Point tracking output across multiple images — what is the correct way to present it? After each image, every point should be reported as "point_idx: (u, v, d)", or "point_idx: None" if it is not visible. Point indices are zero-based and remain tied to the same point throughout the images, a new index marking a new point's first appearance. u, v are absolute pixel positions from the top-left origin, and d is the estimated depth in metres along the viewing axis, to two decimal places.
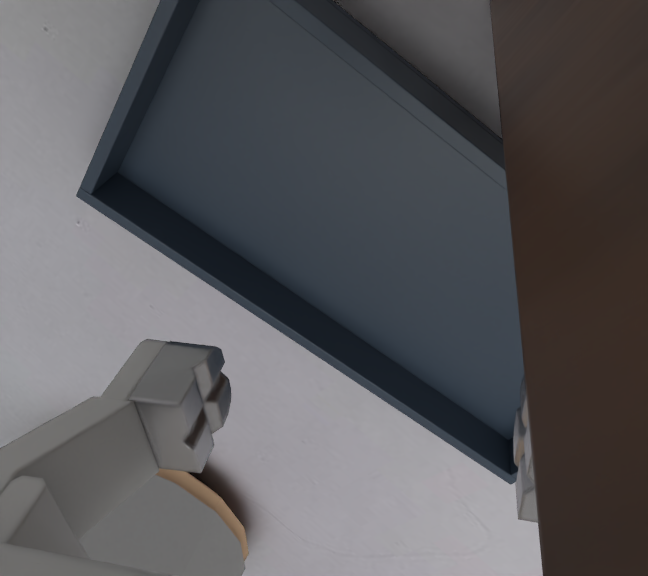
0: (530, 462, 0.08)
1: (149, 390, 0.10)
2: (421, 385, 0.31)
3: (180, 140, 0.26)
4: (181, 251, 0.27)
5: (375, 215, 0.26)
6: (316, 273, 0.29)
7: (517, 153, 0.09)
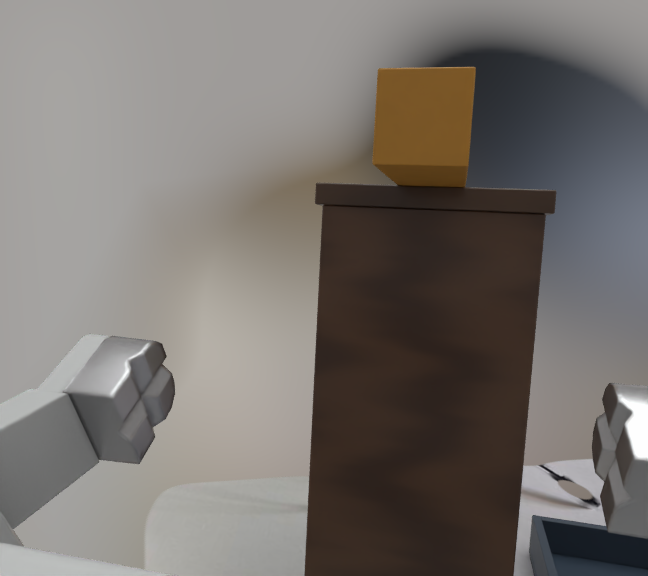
0: (629, 474, 0.08)
1: (83, 382, 0.10)
2: None
3: None
4: None
5: None
6: None
7: (518, 444, 0.26)
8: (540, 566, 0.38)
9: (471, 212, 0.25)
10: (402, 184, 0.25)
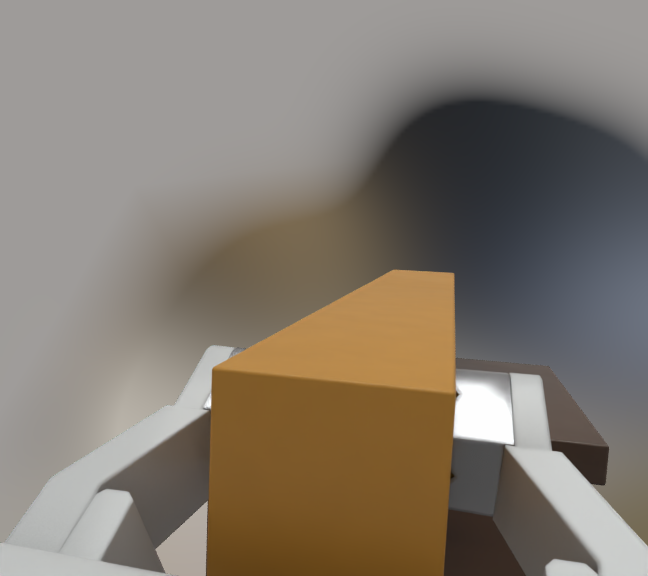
0: None
1: None
2: None
3: None
4: None
5: None
6: None
7: None
8: None
9: None
10: None
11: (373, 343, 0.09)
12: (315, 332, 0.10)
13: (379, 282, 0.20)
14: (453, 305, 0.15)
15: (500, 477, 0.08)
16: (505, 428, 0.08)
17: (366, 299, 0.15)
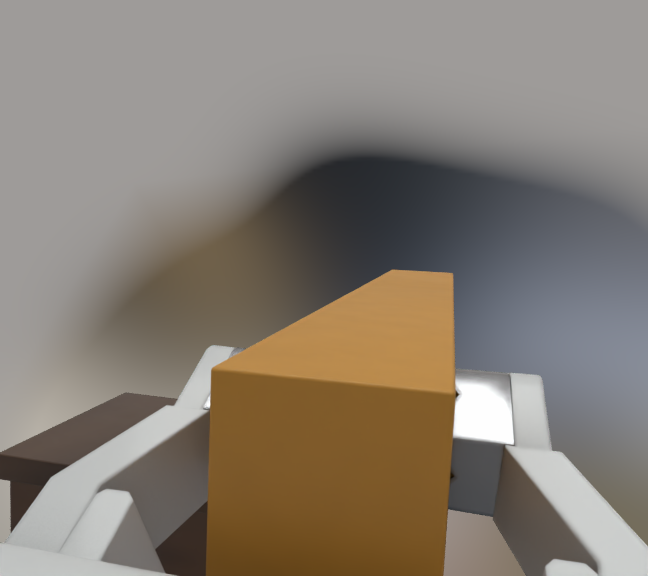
0: None
1: None
2: None
3: None
4: None
5: None
6: None
7: None
8: None
9: None
10: None
11: (372, 343, 0.09)
12: (314, 332, 0.10)
13: (378, 282, 0.20)
14: (452, 305, 0.15)
15: (500, 477, 0.08)
16: (505, 428, 0.08)
17: (365, 299, 0.15)
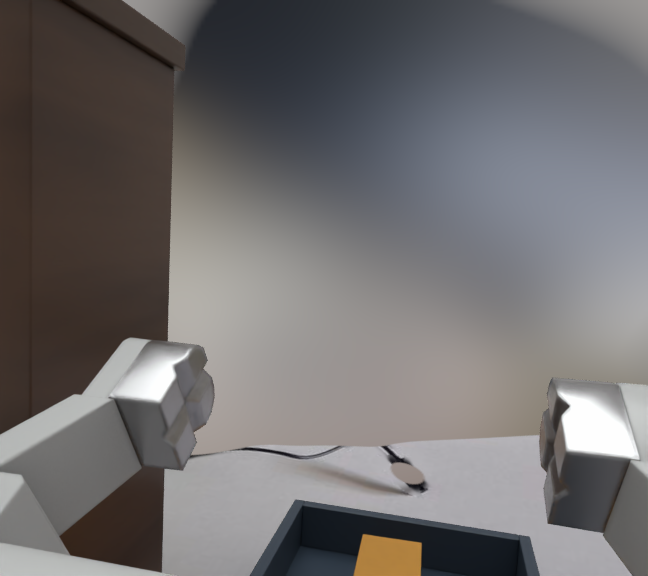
0: (563, 466, 0.08)
1: (129, 388, 0.10)
2: None
3: None
4: None
5: None
6: None
7: (21, 367, 0.16)
8: None
9: None
10: None
11: None
12: None
13: None
14: None
15: (619, 493, 0.08)
16: (626, 442, 0.08)
17: None
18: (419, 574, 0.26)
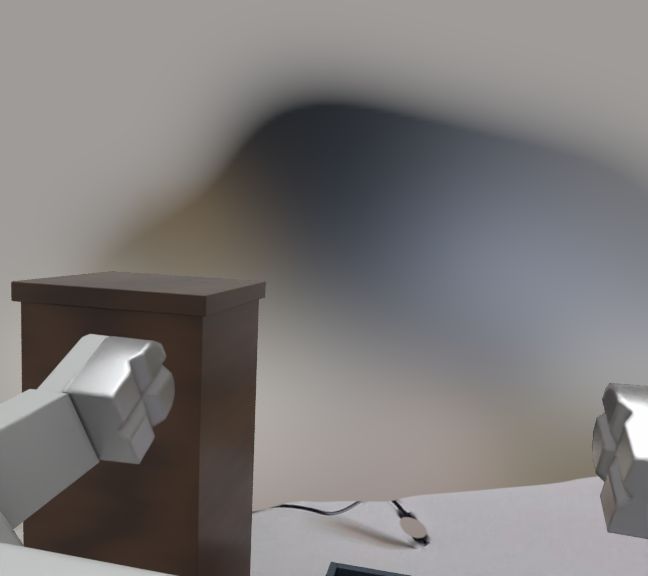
0: (629, 474, 0.08)
1: (84, 382, 0.10)
2: None
3: None
4: None
5: None
6: None
7: (191, 525, 0.28)
8: None
9: (142, 312, 0.27)
10: None
11: None
12: None
13: None
14: None
15: None
16: None
17: None
18: None
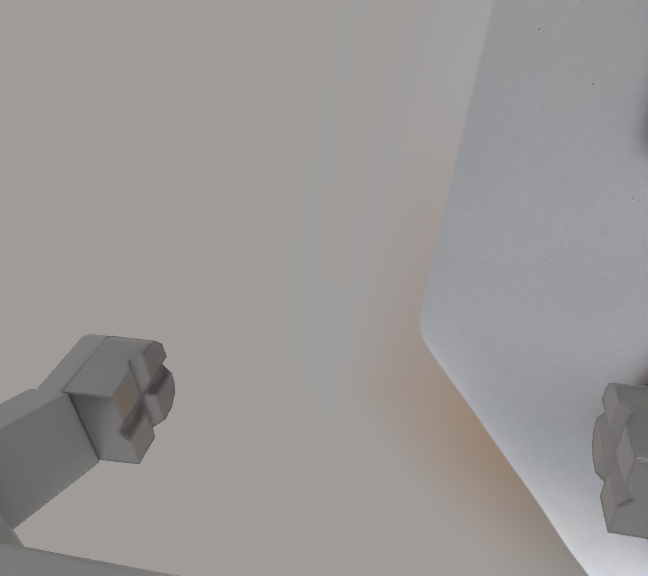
0: (629, 474, 0.08)
1: (83, 382, 0.10)
2: None
3: None
4: None
5: None
6: None
7: None
8: None
9: None
10: None
11: None
12: None
13: None
14: None
15: None
16: None
17: None
18: None
